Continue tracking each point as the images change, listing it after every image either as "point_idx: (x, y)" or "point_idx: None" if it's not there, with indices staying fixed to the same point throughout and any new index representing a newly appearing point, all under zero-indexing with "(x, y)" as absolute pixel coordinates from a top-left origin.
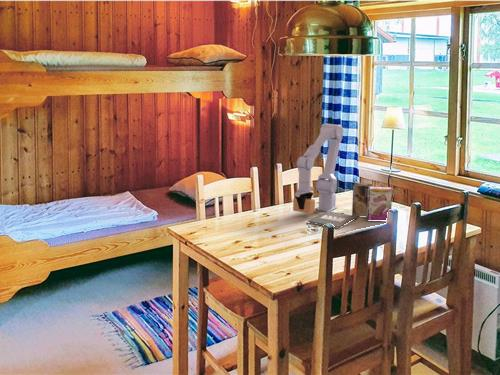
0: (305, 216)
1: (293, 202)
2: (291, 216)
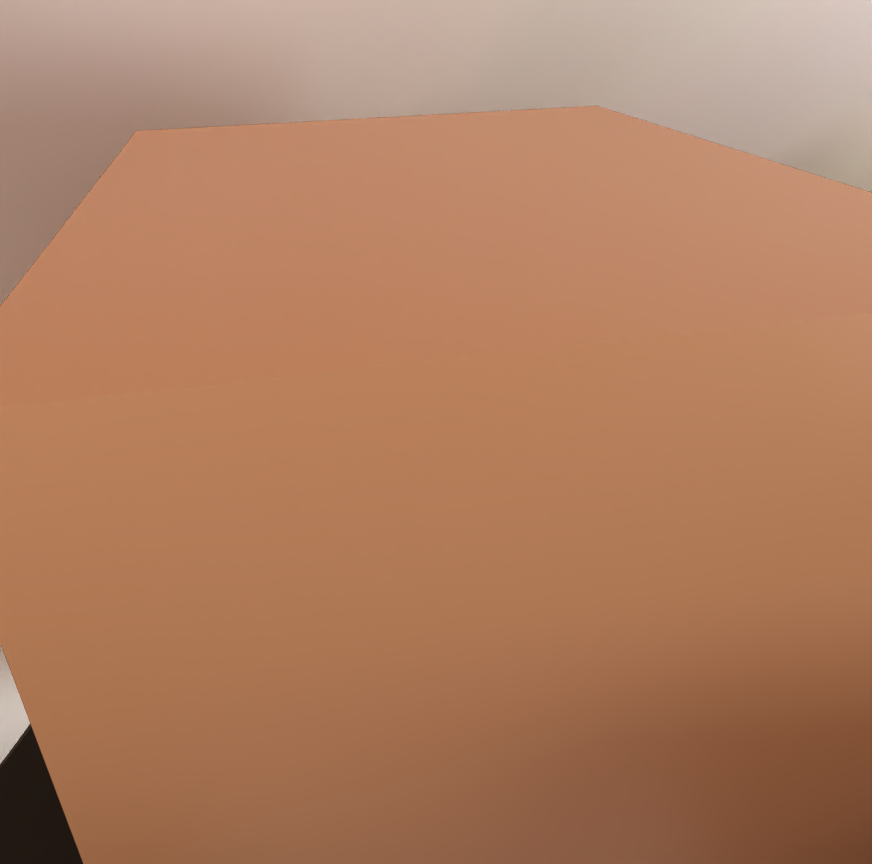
0: None
1: (45, 284)
2: (70, 81)
